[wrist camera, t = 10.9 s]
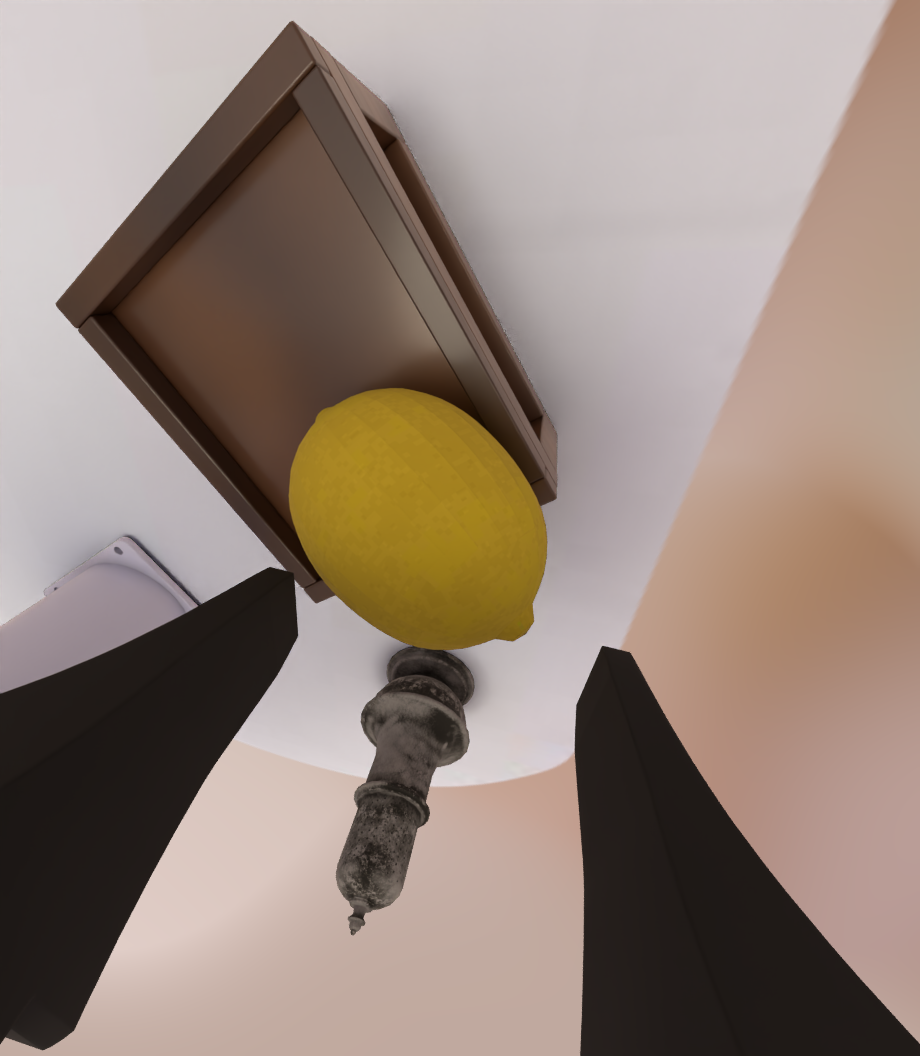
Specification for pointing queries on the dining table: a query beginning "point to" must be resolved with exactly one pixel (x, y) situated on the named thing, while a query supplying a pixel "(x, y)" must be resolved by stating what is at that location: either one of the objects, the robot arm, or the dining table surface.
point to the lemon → (419, 520)
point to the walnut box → (297, 291)
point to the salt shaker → (402, 772)
